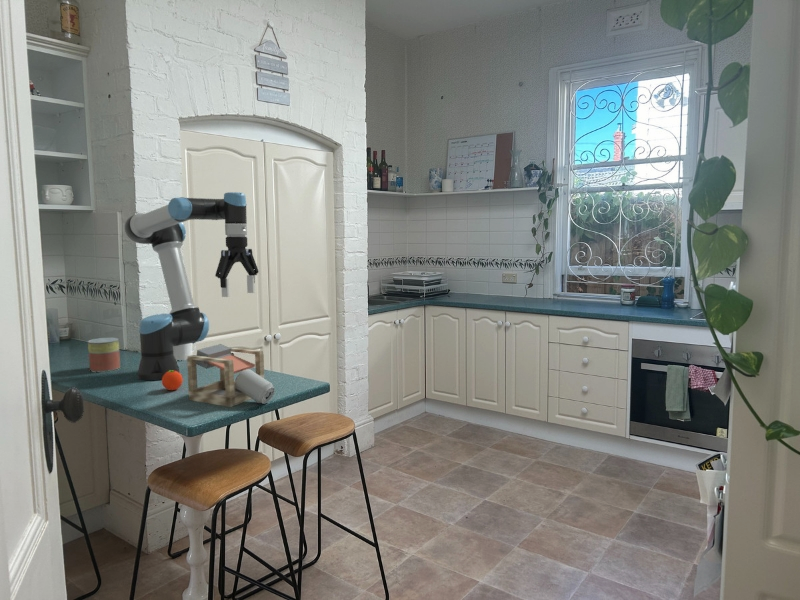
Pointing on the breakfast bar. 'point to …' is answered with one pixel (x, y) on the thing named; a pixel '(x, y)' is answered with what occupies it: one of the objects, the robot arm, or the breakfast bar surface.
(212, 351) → the grey and pink block
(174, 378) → the clementine
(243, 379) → the can
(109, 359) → the canned food
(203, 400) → the frame
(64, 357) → the breakfast bar surface
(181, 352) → the mug
